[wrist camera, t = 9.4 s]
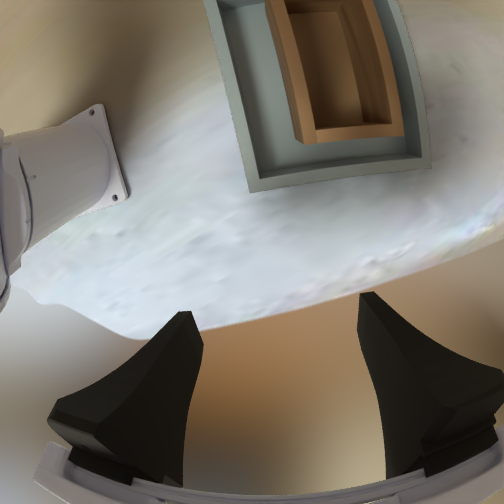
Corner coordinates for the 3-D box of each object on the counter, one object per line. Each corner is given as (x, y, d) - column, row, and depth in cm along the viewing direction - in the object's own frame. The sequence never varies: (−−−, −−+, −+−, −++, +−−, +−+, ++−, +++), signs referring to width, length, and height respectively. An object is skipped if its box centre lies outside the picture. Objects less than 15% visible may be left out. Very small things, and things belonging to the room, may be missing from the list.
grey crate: (253, 182, 18) (250, 193, 15) (211, 10, 12) (201, -7, 10) (410, 160, 16) (431, 168, 14) (373, -4, 11) (388, -20, 8)
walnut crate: (295, 139, 16) (304, 145, 11) (265, 13, 12) (262, -22, 7) (370, 130, 15) (404, 135, 11) (341, 7, 11) (362, -24, 7)
